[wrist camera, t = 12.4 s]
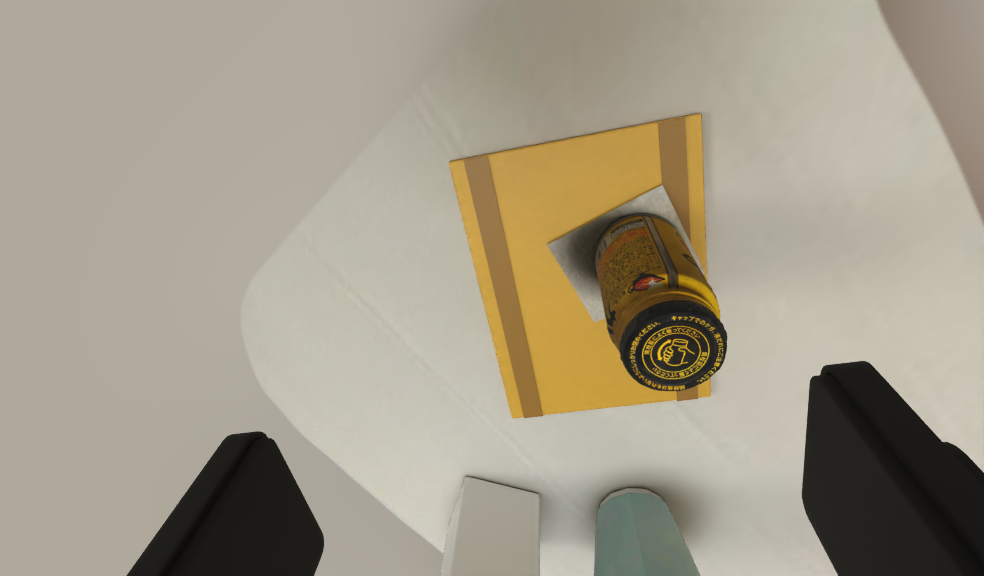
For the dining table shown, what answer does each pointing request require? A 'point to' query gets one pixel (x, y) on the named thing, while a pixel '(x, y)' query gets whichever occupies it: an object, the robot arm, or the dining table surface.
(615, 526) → the disposable coffee cup
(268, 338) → the dining table surface
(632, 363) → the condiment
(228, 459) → the robot arm
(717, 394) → the dining table surface
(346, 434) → the dining table surface
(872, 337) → the dining table surface
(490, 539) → the milk carton
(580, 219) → the towel
